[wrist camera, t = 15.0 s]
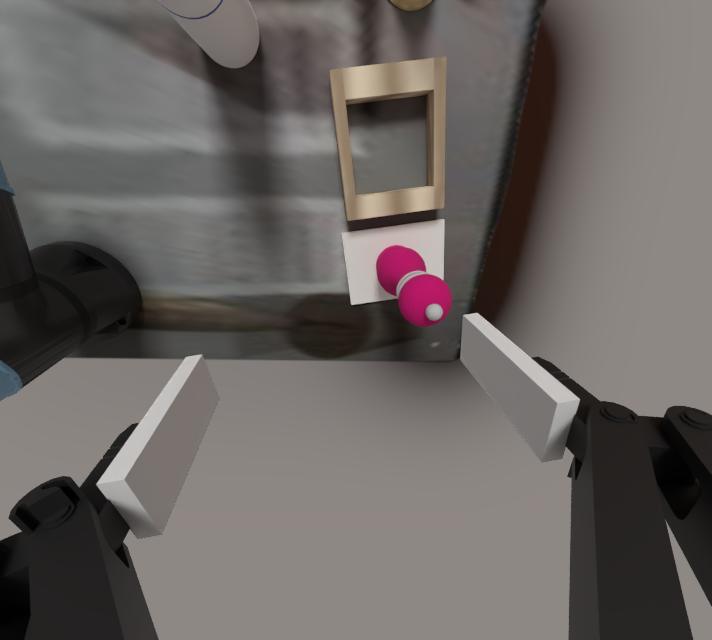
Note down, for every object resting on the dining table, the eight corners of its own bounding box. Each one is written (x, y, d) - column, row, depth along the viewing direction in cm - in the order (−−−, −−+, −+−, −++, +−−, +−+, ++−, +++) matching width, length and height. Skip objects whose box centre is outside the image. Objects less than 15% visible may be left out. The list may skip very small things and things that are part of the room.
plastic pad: (351, 303, 51) (351, 305, 51) (341, 232, 46) (341, 233, 45) (442, 290, 52) (443, 291, 51) (443, 218, 46) (444, 219, 46)
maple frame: (346, 218, 45) (347, 220, 42) (328, 77, 37) (329, 70, 35) (437, 206, 45) (444, 207, 43) (437, 65, 38) (446, 56, 35)
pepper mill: (423, 273, 49) (479, 327, 31) (383, 292, 50) (417, 356, 32) (406, 233, 46) (459, 268, 28) (365, 254, 47) (390, 302, 29)
